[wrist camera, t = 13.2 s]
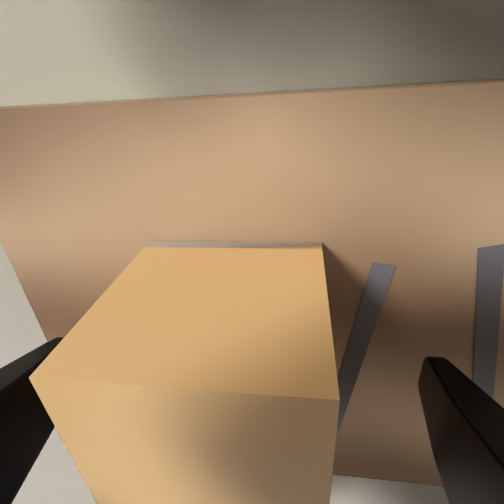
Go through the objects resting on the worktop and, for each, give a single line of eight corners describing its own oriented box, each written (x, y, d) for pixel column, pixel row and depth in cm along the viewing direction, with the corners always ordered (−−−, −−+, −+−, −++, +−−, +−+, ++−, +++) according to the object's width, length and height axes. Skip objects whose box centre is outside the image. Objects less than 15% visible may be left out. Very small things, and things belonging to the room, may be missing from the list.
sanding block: (313, 418, 10) (319, 600, 7) (187, 407, 11) (132, 570, 7) (321, 242, 7) (339, 399, 4) (149, 241, 8) (28, 377, 4)
